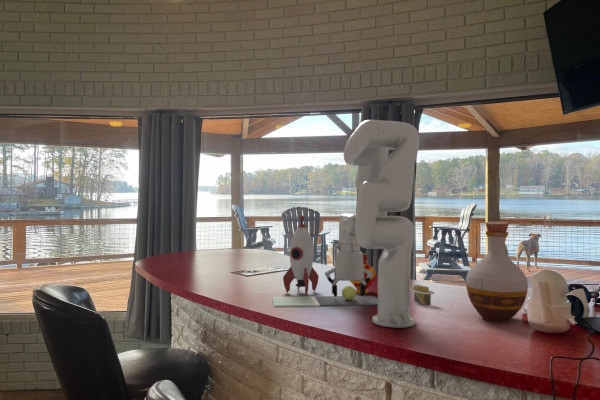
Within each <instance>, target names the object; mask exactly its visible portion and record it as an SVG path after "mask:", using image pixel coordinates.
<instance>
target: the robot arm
mask: <svg viewBox="0 0 600 400" xmlns="http://www.w3.org/2000/svg"><path fill="white" fill-rule="evenodd" d="M419 149H420V135H419V132H418V129H417V128H416V127H415V126H414V125H413V124H411V123H408V122H405V121H403V122H402V121H398V120H396V121H394V120H380V119H367V120H363V121H362V122H360V123H359V125H358V126H357V127H356V128H355V130H354V131H353V132H352V134H351V135H350V136H349V138H348V140H346V143H345V146H344V149H343V160H344V163H345V164H346V165H348V166H358V169H357V172H356V177H355V182H354V184H355V188H356V189H357V190H358V193H357V200H356V213H341V214H340V215H339V217H338V220H339V221H338V243H337V244H335V245H334V249H335V250H338V251H336V255H335V259H334V261H335V262H334V267H331V268H330V269H329V270H326V271H325V272H324V275H325V277H326V279H327V281H328V282H329V283H330V284H331V294H332V295H333V296H335V297H337V296H338V285H337V284H338V283H339V281H340V282H342V281H344V282H345V281H349V282H350V281H360V282H361V284H360V293H359V296H365V294H366V293H365V285H366V284H367V283H368V282H369V281H370V278H371V277H372V275H373V273H372V272H371V271H369V270H367V269H365V268H364V263H363V255H362V253H363V252H362V251H361V248H363V249H365V250H366V249H367V250H376V249H377V250H378V249H379V250H381V249H383V251H382V253H381V254H380V257H379V258H378V263H377V299H378V305H376V307H377V309H376V310H377V314H375V315H373V316H372V317H371V319H372V320H371V322H372V323H373V324H375V325H377V326H380V327H387V328H397V329H398V328H399V329H400V328H411V327H413V326H414V325H416V319H415V318H414V317H413V316H411V291H410V289H411V271H412V270H411V269H412V268H411V266H412V265H411V263H412V250H413V245H414V239H415V225H414V223H413V222H412V221H411V220H410V219H409V218H407V217H405V216H400V215H388V213H391V212H392V213H394V212H395V213H396V212H398V213H399V212H404V211H406V210H408V209H409V208H410V206H411V203H412V196H413V188H414V187H413V186H414V185H413V184H414V172H415V163H416V159H417V155H418V153H419ZM390 150H392V152H391V153H390V154H389V151H390ZM364 272H365V273H367V274H368V275H367V277H366V278H365V279H364ZM332 274H333V275H334V277H333V279H332V277H331V275H332Z"/></svg>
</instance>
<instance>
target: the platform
mask: <svg viewBox="0 0 600 400" xmlns="http://www.w3.org/2000/svg"><path fill="white" fill-rule="evenodd" d="M429 289H430V287H428V286H425V285H420V284H415V285H414V284H413V287H410V292H413V302H417V303H420V304H422V305H423V306H425V305H428V306H431V301H432V295H435V291H432V290H429Z"/></svg>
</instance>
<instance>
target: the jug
mask: <svg viewBox="0 0 600 400" xmlns="http://www.w3.org/2000/svg"><path fill="white" fill-rule="evenodd" d="M509 224H510V223H509V222H508V221H487V222H485V226H486V227H485V228H486V230H487V231H485V236H487V242H488V251H487V254H485V255H484V256H483V257H482V258H481V259H480V260H479V261H478V262H477V263H476V264H475V265H473V266H472V267H471V268H470V269H469V271H468V272H467V274H466V278H465V286H466V292H467V296H468V298H469V301H470V303H471V305H472V307H474V309H475V310H476V312H477V313H478V315H479V316H480V317H481V318H482V319H483V320H485V321H489V322H495V323H496V322H497V323H506V322H510V321H511V320H512V319H513V318H514V317H515V316H516V315H517V313H518V312H519V311H521V309H522V308H523V305H524V304H525V301H526V298H527V295H528V289H529V282H528V278H527V276H526V274H525V273H524V271H523V270H521V268H520V267H519V266H517V264H515V262H514V261H512V260H511V258H510V257H509V252H508V250H509V249H508V247H507V244H506V240H507V237H508V235H509V231H507V230H508V227H509Z"/></svg>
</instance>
